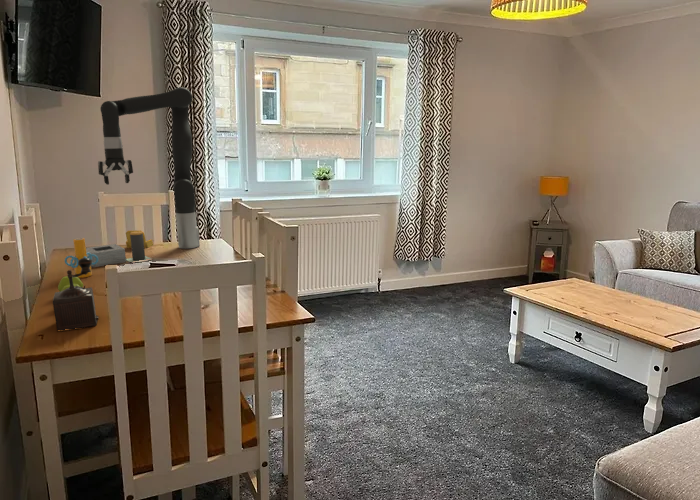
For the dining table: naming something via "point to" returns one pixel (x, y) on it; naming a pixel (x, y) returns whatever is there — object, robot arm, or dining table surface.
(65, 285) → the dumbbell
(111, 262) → the housing
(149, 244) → the yellow piece
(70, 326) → the coffee grinder
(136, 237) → the plug
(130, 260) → the mat
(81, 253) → the yellow blue looped piece
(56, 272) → the dining table surface
